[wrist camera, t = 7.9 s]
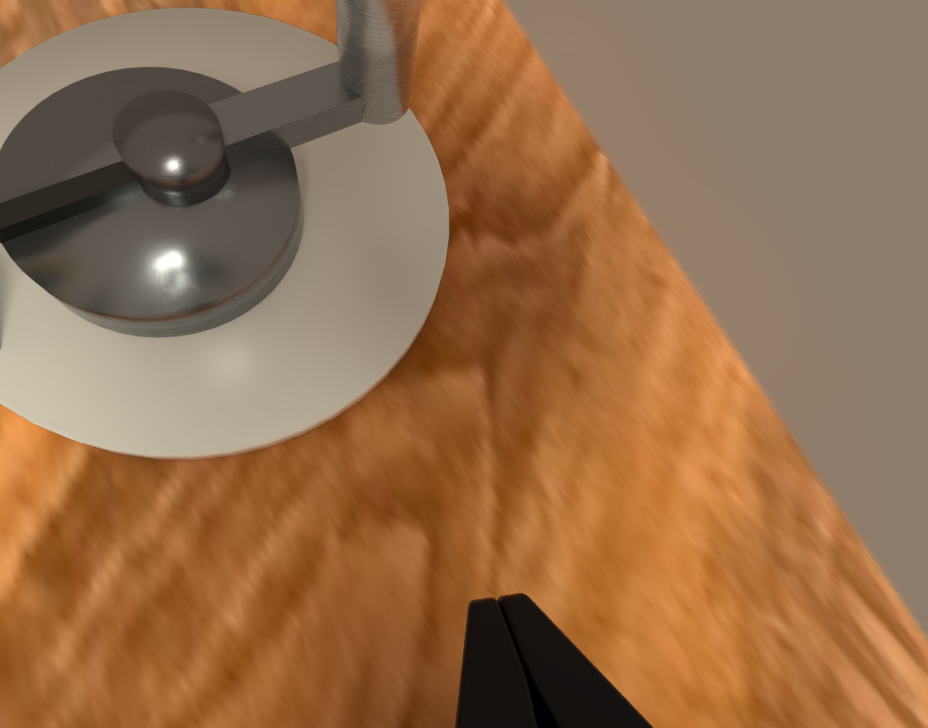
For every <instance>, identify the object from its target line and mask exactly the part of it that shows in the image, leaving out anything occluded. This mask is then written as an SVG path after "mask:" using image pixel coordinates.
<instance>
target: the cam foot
mask: <svg viewBox="0 0 928 728" xmlns="http://www.w3.org/2000/svg"><path fill="white" fill-rule="evenodd" d="M335 7H336V27H337V47H338V61H337V62H334V63H331V64H328V65H325V66H322V67H319V68H316V69H313V70H310V71H307V72H304V73H301V74H298V75H295V76H292V77H289V78H286V79H283V80H280V81H277V82H274V83H271V84H268V85H265V86H262V87H259V88H256V89H253V90H250V91H247V92H244V93H242V92H241V91H239V90H237V89H236V88H234V87H232V86H230V85H228V84H226V83H224V82H221V81H219V80H217V79H214V78H211V77H209V76H206V75H203V74H200V73H195V72H191V71H186V70H182V69H174V68H165V67H136V68H124V69H119V70H113V71H108V72H104V73H100V74H97V75H93V76H90V77H87V78H84V79H82V80H79V81H77V82H74V83H72V84H70V85H68V86H66V87H64V88H62V89H60V90H58V91H56V92H55V93H53V94H51V95H50V96H49V97H47V98H46V99H44V100H43V101H41V102H40V103H38V104H37V105H36V106H35V107H34V108H33V109H32V110H30V111H29V112H28V113H27V114H26V115H25V116H24V117H23V118H22V119H21V120H20V122H19V123H18V124H17V125H16V126H15V127H14V128H13V130H12V131H11V133H10V134H9V136H8V137H7V139H6V140H5V142H4V143H3V145H2V148H1V150H0V243H1V244H2V245H3V247H4V248H5V250H6V251H7V253H8V254H9V256H10V258H11V259H12V260H13V261H14V262H15V263H16V265H17V266H18V267H19V268H20V269H21V270H22V271H23V272H24V273H25V274H26V275H27V276H28V277H30V278H31V279H32V280H33V281H34V282H36V283H37V284H38V285H39V286H41V287H42V288H43V289H44V290H45V291H47V292H48V293H49V294H50V295H52V296H53V297H54V298H55V299H56V300H58V301H59V302H60V303H61V304H63V305H64V306H65V307H66V308H67V309H69V310H70V311H71V312H73V313H75V314H76V315H78V316H80V317H81V318H83V319H84V320H86V321H88V322H91V323H93V324H95V325H97V326H100V327H102V328H105V329H108V330H111V331H115V332H118V333H122V334H128V335H133V336H139V337H156V338H161V337H178V336H184V335H189V334H195V333H199V332H203V331H206V330H209V329H213V328H216V327H218V326H221V325H223V324H225V323H228V322H230V321H232V320H234V319H236V318H238V317H239V316H241V315H243V314H245V313H246V312H248V311H249V310H251V309H252V308H254V307H255V306H256V305H258V304H259V303H260V302H262V301H263V300H264V299H265V298H266V297H267V296H268V295H269V294H270V293H271V292H272V291H273V290H274V289H275V288H276V287H277V285H278V284H279V283H280V282H281V280H282V279H283V278H284V277H285V275H286V273H287V272H288V270H289V268H290V267H291V265H292V263H293V261H294V259H295V256H296V254H297V251H298V249H299V245H300V241H301V237H302V231H303V221H304V218H303V204H302V198H301V193H300V187H299V181H298V175H297V170H296V165H295V161H294V157H293V154H292V151H291V149H290V148H293V147H296V146H298V145H301V144H304V143H307V142H309V141H312V140H315V139H317V138H320V137H323V136H325V135H328V134H331V133H333V132H336V131H339V130H342V129H344V128H347V127H350V126H352V125H355V124H358V123H360V122H365V123H368V124H374V125H384V124H389V123H392V122H395V121H397V120H398V119H400V118H401V117H402V116H404V115H405V113H406V112H407V110H408V109H409V106H410V102H411V93H412V84H413V74H414V65H415V55H416V46H417V36H418V27H419V18H420V8H421V0H335Z"/></svg>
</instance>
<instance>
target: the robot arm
mask: <svg viewBox="0 0 928 728" xmlns="http://www.w3.org/2000/svg"><path fill="white" fill-rule="evenodd" d="M455 728H653V727H652V726H651V725H650V723H649V722H648V721H647V720H646V719H645V718H644V717H643V716H642V715H641V714H640V713H639V712H638V711H637V710H636V709H635V708H634V707H633V706H632V705H631V704H630V702H629V701H628V700H627V699H626V698H625V697H624V696H623V695H622V694H621V693H620V692H619V691H618V690H617V689H616V688H615V687H614V686H613V685H612V684H611V683H610V682H609V680H608V679H607V678H606V677H605V676H604V675H603V674H602V673H601V672H600V671H599V670H598V669H597V668H596V667H595V666H594V665H593V664H592V663H591V662H590V661H589V659H588V658H587V657H586V656H585V655H584V654H583V653H582V652H581V651H580V650H579V649H578V648H577V647H576V646H575V645H574V644H573V643H572V642H571V641H570V640H569V638H568V637H567V636H566V635H565V634H564V633H563V632H562V631H561V630H560V629H559V628H558V627H557V626H556V625H555V624H554V623H553V622H552V621H551V620H550V619H549V617H548V616H547V615H546V614H545V613H544V612H543V611H542V610H541V609H540V608H539V607H538V606H537V605H536V604H535V603H534V602H533V601H532V600H531V599H530V598H529V597H528V596H527V595H525V594H523V593H518V594H511V595H505V596H501V597H499V598H498V600H496V599H495V598H492V597H491V598H484V599H477V600H472V601H470V603H469V605H468V613H467V622H466V631H465V640H464V649H463V659H462V668H461V677H460V686H459V695H458V704H457V713H456V723H455Z"/></svg>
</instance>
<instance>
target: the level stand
mask: <svg viewBox="0 0 928 728" xmlns="http://www.w3.org/2000/svg"><path fill="white" fill-rule="evenodd" d="M337 61H338V47H337V46H336V45H335V44H333V43H331V42H330V41H328V40H326V39H324V38H321V37H319V36H317V35H315V34H313V33H310V32H308V31H306V30H304V29H301V28H299V27H296V26H293V25H290V24H287V23H284V22H281V21H278V20H275V19H271V18H267V17H262V16H258V15H253V14H249V13H244V12H237V11H229V10H221V9H213V8H168V9H154V10H145V11H139V12H134V13H128V14H122V15H117V16H113V17H109V18H106V19H102V20H98V21H95V22H91V23H87V24H85V25H82V26H79V27H77V28H74V29H72V30H69V31H66V32H64V33H61V34H59V35H56V36H54V37H52V38H50V39H48V40H47V41H45V42H43V43H41V44H39V45H37V46H35V47H33V48H31V49H29V50H27V51H26V52H24V53H23V54H21V55H20V56H18V57H17V58H15V59H14V60H12V61H11V62H9V63H8V64H6V65H5V66H3V67H2V68H0V150H1V148H2V145H3V143H4V142H5V140H6V139H7V137H8V136H9V134H10V133H11V131H12V130H13V128H14V127H15V126H16V125H17V124H18V123H19V122H20V120H21V119H22V118H23V117H24V116H25V115H26V114H27V113H28V112H29V111H30V110H32V109H33V108H34V107H35V106H36V105H37V104H38V103H40V102H41V101H43V100H44V99H46V98H47V97H49V96H50V95H51V94H53V93H55V92H56V91H58V90H60V89H62V88H64V87H66V86H68V85H70V84H72V83H74V82H77V81H79V80H82V79H84V78H87V77H90V76H93V75H97V74H100V73H104V72H108V71H113V70H119V69H124V68H136V67H165V68H174V69H182V70H186V71H191V72H195V73H200V74H203V75H206V76H209V77H211V78H214V79H217V80H219V81H221V82H224V83H226V84H228V85H230V86H232V87H234V88H236V89H237V90H239V91H241V92H242V93H244V92H247V91H250V90H253V89H256V88H259V87H262V86H265V85H268V84H271V83H274V82H277V81H280V80H283V79H286V78H289V77H292V76H295V75H298V74H301V73H304V72H307V71H310V70H313V69H316V68H319V67H322V66H325V65H328V64H331V63H334V62H337ZM290 149H291V151H292V154H293V157H294V161H295V165H296V170H297V175H298V181H299V187H300V193H301V198H302V204H303V218H304V221H303V231H302V237H301V241H300V245H299V249H298V251H297V254H296V256H295V259H294V261H293V263H292V265H291V267H290V268H289V270H288V272H287V273H286V275H285V277H284V278H283V279H282V280H281V282H280V283H279V284H278V285H277V287H276V288H275V289H274V290H273V291H272V292H271V293H270V294H269V295H268V296H267V297H266V298H265V299H264V300H263V301H262V302H260V303H259V304H258V305H256V306H255V307H254V308H252V309H251V310H249V311H248V312H246V313H245V314H243V315H241V316H239V317H238V318H236V319H234V320H232V321H230V322H228V323H225V324H223V325H221V326H218V327H216V328H213V329H209V330H206V331H203V332H199V333H195V334H189V335H184V336H178V337H161V338H156V337H139V336H133V335H128V334H122V333H118V332H115V331H111V330H108V329H105V328H102V327H100V326H97V325H95V324H93V323H91V322H88V321H86V320H84V319H83V318H81V317H80V316H78V315H76V314H75V313H73V312H71V311H70V310H69V309H67V308H66V307H65V306H64V305H63V304H61V303H60V302H59V301H58V300H56V299H55V298H54V297H53V296H52V295H50V294H49V293H48V292H47V291H45V290H44V289H43V288H42V287H41V286H39V285H38V284H37V283H36V282H34V281H33V280H32V279H31V278H30V277H28V276H27V275H26V274H25V273H24V272H23V271H22V270H21V269H20V268H19V267H18V266H17V265H16V263H15V262H14V261H13V260H12V259H11V258H10V256H9V254H8V253H7V251H6V250H5V248H4V247H3V245H2V244H1V243H0V404H2V405H3V406H5V407H7V408H8V409H10V410H12V411H13V412H15V413H17V414H18V415H20V416H22V417H23V418H25V419H27V420H28V421H30V422H32V423H33V424H36V425H38V426H41V427H43V428H45V429H48V430H50V431H53V432H55V433H57V434H60V435H62V436H64V437H67V438H69V439H72V440H74V441H77V442H80V443H82V444H85V445H88V446H92V447H96V448H99V449H103V450H107V451H110V452H114V453H118V454H122V455H128V456H136V457H143V458H151V459H158V460H202V459H211V458H219V457H228V456H235V455H240V454H244V453H248V452H252V451H256V450H261V449H265V448H269V447H272V446H275V445H277V444H280V443H283V442H285V441H288V440H291V439H293V438H296V437H299V436H301V435H304V434H306V433H308V432H310V431H312V430H314V429H315V428H317V427H319V426H321V425H323V424H325V423H327V422H329V421H331V420H333V419H335V418H336V417H337V416H339V415H340V414H342V413H343V412H345V411H346V410H348V409H349V408H351V407H352V406H353V405H355V404H356V403H358V402H359V401H361V400H362V399H363V398H364V397H365V396H366V395H368V394H369V393H370V392H371V391H372V390H373V389H374V388H375V387H376V386H378V385H379V384H380V383H381V382H382V381H383V380H384V379H385V378H386V377H387V376H388V375H389V374H390V373H391V371H392V370H393V369H394V368H395V367H396V366H397V364H398V363H399V362H400V361H401V360H402V358H403V357H404V356H405V355H406V353H407V352H408V350H409V349H410V347H411V346H412V344H413V343H414V341H415V339H416V338H417V336H418V335H419V333H420V332H421V330H422V328H423V326H424V324H425V321H426V319H427V317H428V315H429V313H430V310H431V308H432V306H433V304H434V300H435V297H436V294H437V290H438V287H439V284H440V280H441V277H442V273H443V270H444V266H445V262H446V255H447V248H448V241H449V206H448V200H447V193H446V187H445V181H444V178H443V175H442V172H441V168H440V165H439V162H438V159H437V156H436V154H435V152H434V149H433V147H432V145H431V143H430V141H429V139H428V137H427V134H426V133H425V131H424V129H423V128H422V126H421V125H420V123H419V122H418V120H417V118H416V117H415V115H414V114H413V112H412V111H411V109H410V108H409V109H408V110H407V112H406V113H405V115H404V116H402V117H401V118H400V119H398V120H397V121H395V122H392V123H389V124H384V125H374V124H368V123H365V122H360V123H358V124H355V125H352V126H350V127H347V128H344V129H342V130H339V131H336V132H333V133H331V134H328V135H325V136H323V137H320V138H317V139H315V140H312V141H309V142H307V143H304V144H301V145H298V146H296V147H293V148H290Z"/></svg>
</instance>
